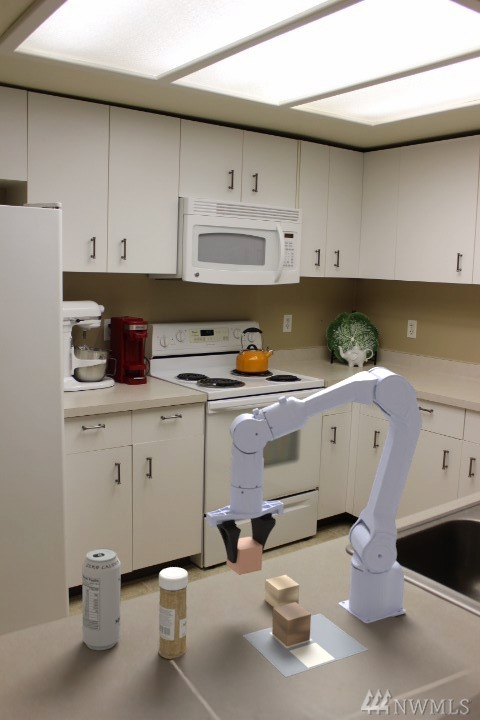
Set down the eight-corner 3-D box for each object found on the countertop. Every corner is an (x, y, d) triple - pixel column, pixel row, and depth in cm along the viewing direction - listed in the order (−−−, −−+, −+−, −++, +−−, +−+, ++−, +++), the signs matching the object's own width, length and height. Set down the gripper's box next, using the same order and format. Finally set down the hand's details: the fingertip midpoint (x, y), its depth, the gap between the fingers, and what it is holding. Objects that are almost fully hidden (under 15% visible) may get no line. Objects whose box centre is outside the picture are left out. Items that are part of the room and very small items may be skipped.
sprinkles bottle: (191, 655, 106) (193, 574, 104) (166, 663, 103) (167, 581, 102) (178, 641, 110) (179, 563, 108) (152, 649, 107) (153, 569, 105)
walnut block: (294, 626, 114) (295, 602, 114) (309, 639, 110) (310, 614, 110) (272, 633, 112) (273, 608, 111) (287, 646, 108) (288, 620, 108)
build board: (320, 615, 119) (320, 613, 119) (368, 652, 108) (368, 649, 108) (242, 638, 111) (242, 635, 111) (285, 680, 100) (285, 677, 100)
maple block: (284, 597, 126) (285, 574, 125) (298, 608, 122) (299, 584, 121) (264, 602, 124) (265, 579, 123) (277, 613, 120) (278, 590, 119)
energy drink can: (125, 645, 108) (126, 557, 106) (89, 656, 105) (89, 565, 103) (112, 628, 113) (112, 543, 111) (77, 637, 110) (77, 550, 108)
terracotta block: (248, 560, 121) (249, 536, 121) (261, 570, 117) (262, 545, 117) (226, 564, 119) (227, 540, 118) (239, 574, 115) (240, 549, 115)
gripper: (269, 472, 123) (267, 542, 125) (198, 482, 116) (197, 557, 118) (291, 483, 117) (288, 557, 119) (217, 494, 110) (216, 573, 112)
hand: (244, 558), depth 118 cm, fingers closed on terracotta block, 4 cm apart
